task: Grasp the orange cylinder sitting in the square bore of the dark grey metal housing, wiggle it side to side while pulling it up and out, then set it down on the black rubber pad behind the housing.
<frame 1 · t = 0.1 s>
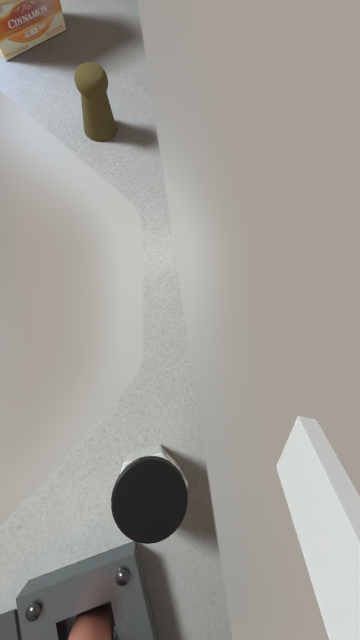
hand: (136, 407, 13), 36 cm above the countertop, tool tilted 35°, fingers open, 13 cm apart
coffeecake box: (27, 36, 65), on the countertop
housing: (95, 621, 40), on the countertop
jar: (150, 476, 45), on the countertop
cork: (100, 129, 60), on the countertop
orange cylinder: (94, 626, 39), point 1 cm above the countertop, touching housing
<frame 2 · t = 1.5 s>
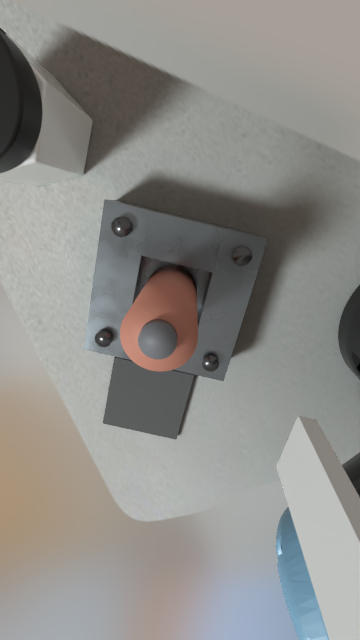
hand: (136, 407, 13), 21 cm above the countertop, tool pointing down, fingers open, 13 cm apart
housing: (172, 287, 32), on the countertop
jar: (47, 135, 29), on the countertop
rubber pad: (147, 397, 37), on the countertop
orange cylinder: (171, 290, 32), point 1 cm above the countertop, touching housing
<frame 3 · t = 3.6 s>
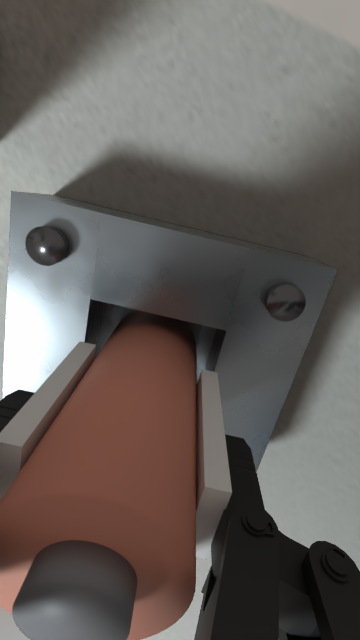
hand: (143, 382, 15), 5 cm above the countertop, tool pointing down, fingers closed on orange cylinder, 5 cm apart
housing: (155, 342, 19), on the countertop
orange cylinder: (153, 349, 18), point 1 cm above the countertop, touching gripper, housing
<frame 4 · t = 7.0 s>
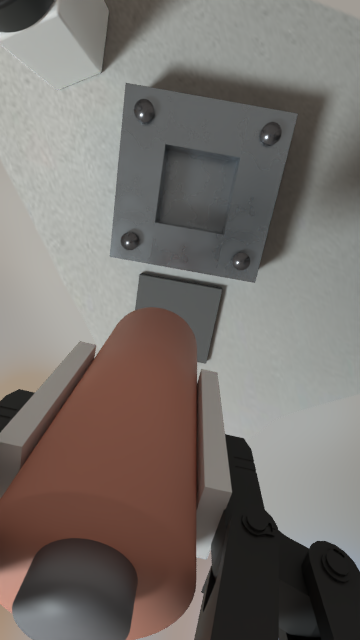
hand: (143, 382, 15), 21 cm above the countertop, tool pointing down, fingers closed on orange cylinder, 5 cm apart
housing: (196, 193, 31), on the countertop
jar: (63, 33, 28), on the countertop
rubber pad: (174, 319, 36), on the countertop
orange cylinder: (153, 348, 18), point 17 cm above the countertop, touching gripper
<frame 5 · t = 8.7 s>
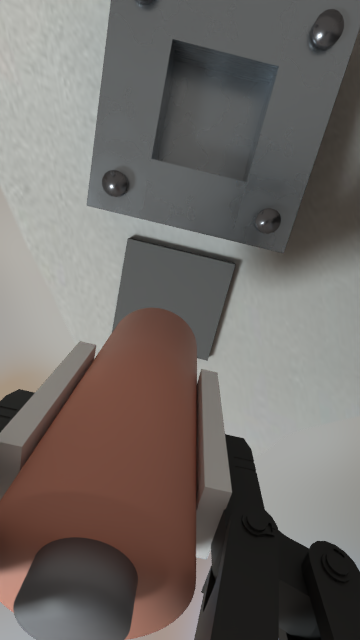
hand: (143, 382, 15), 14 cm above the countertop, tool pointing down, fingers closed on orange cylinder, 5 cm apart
housing: (209, 129, 23), on the countertop
rubber pad: (170, 301, 28), on the countertop
orange cylinder: (153, 348, 18), point 10 cm above the countertop, touching gripper
when the fingers open (6 cm above the countertop, at t = 10.3 s): orange cylinder drops 2 cm, resting on rubber pad.
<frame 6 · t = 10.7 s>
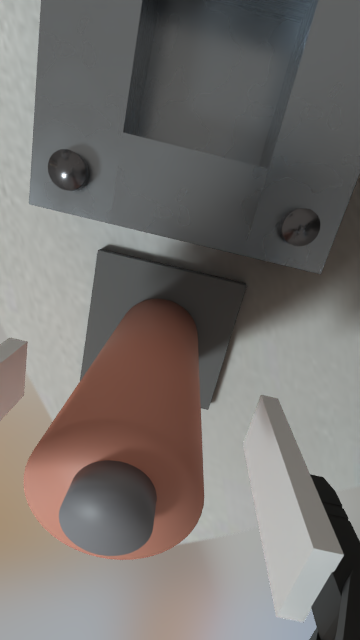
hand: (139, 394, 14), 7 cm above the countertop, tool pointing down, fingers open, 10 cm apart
housing: (211, 95, 16), on the countertop
rubber pad: (158, 333, 21), on the countertop
orange cylinder: (158, 336, 20), point 1 cm above the countertop, touching rubber pad
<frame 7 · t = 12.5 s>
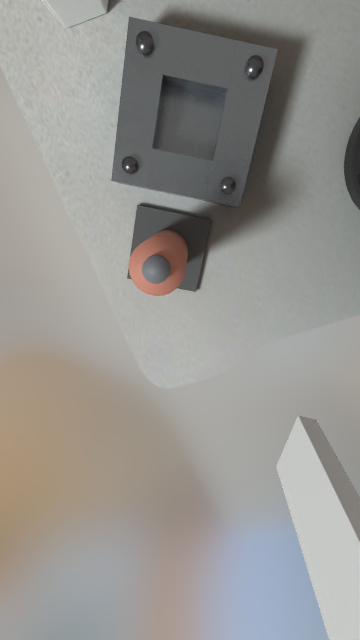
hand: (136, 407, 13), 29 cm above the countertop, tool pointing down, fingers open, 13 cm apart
housing: (189, 128, 35), on the countertop
rubber pad: (168, 249, 40), on the countertop
orange cylinder: (168, 250, 39), point 1 cm above the countertop, touching rubber pad
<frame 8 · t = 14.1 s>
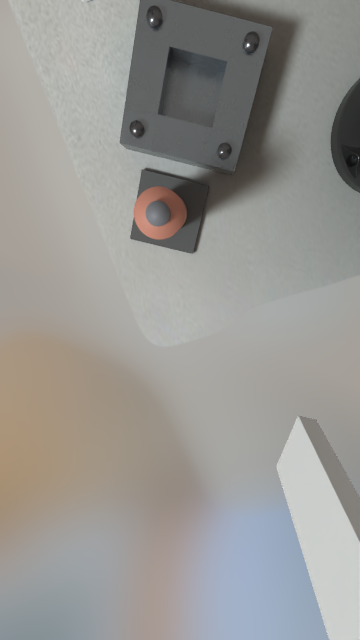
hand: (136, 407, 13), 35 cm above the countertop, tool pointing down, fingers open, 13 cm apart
housing: (192, 100, 39), on the countertop
rubber pad: (168, 213, 43), on the countertop
orange cylinder: (168, 213, 43), point 1 cm above the countertop, touching rubber pad
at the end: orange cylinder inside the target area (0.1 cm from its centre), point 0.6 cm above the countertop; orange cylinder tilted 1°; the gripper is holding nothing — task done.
